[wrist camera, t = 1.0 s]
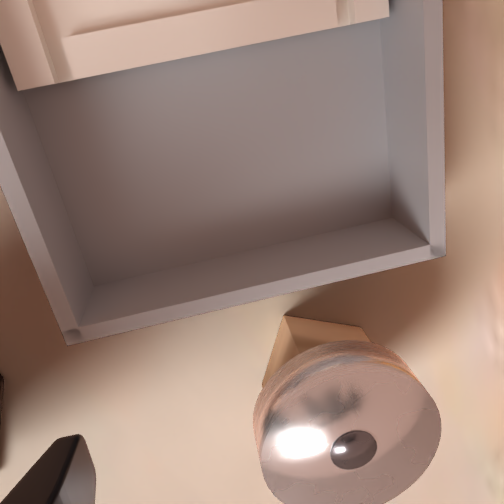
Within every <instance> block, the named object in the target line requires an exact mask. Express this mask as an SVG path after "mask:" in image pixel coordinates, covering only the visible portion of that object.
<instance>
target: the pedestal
mask: <svg viewBox="0 0 504 504" xmlns="http://www.w3.org/2000/svg"><path fill="white" fill-rule="evenodd" d="M342 340H358V341H366V342H370V340H369V339H368V337H367V336H366V334H365V333H364V331H363V330H362V329H361V327H356V326H349V325H343V324H336V323H330V322H324V321H317V320H311V319H304V318H298V317H291V316H285V315H283V319H282V322H281V325H280V328H279V331H278V335H277V338H276V341H275V344H274V347H273V351H272V354H271V357H270V360H269V363H268V367H267V370H266V373H265V376H264V379H263V382H262V387H264V385H265V384H266V383H267V381H268V380H269V379H270V377H271V376H272V375H273V374H274V373H275V372H276V371H277V370H278V369H279V368H280V367H281V366H283V365H284V364H285V363H286V362H287V361H289V360H290V359H292V358H293V357H295V356H296V355H298V354H300V353H302V352H304V351H306V350H308V349H311V348H313V347H316V346H318V345H322V344H326V343H329V342H335V341H342Z"/></svg>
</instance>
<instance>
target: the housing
mask: <svg viewBox="0 0 504 504" xmlns="http://www.w3.org/2000/svg"><path fill="white" fill-rule="evenodd" d="M0 186H1V189H2V191H3V193H4V196H5V198H6V201H7V203H8V205H9V208H10V210H11V213H12V215H13V217H14V220H15V222H16V225H17V227H18V229H19V232H20V234H21V237H22V239H23V241H24V244H25V246H26V249H27V251H28V253H29V256H30V258H31V261H32V263H33V265H34V268H35V270H36V273H37V275H38V277H39V280H40V282H41V285H42V287H43V289H44V292H45V294H46V297H47V299H48V301H49V304H50V306H51V309H52V311H53V313H54V316H55V318H56V321H57V323H58V325H59V328H60V330H61V333H62V335H63V337H64V340H65V342H66V345H67V346H69V345H74V344H78V343H82V342H86V341H90V340H95V339H99V338H103V337H107V336H111V335H116V334H120V333H124V332H128V331H132V330H137V329H141V328H145V327H149V326H153V325H158V324H162V323H166V322H170V321H174V320H179V319H183V318H187V317H191V316H195V315H200V314H204V313H208V312H212V311H216V310H221V309H225V308H229V307H233V306H237V305H242V304H246V303H250V302H254V301H258V300H263V299H267V298H271V297H275V296H279V295H284V294H288V293H292V292H296V291H300V290H305V289H309V288H313V287H317V286H321V285H326V284H330V283H334V282H338V281H342V280H347V279H351V278H355V277H359V276H363V275H368V274H372V273H376V272H380V271H385V270H389V269H393V268H397V267H401V266H406V265H410V264H414V263H418V262H422V261H427V260H431V259H435V258H439V257H443V256H446V224H445V148H444V72H443V0H389V17H386V18H381V19H376V20H372V21H367V22H362V23H357V24H352V25H347V26H342V27H337V28H332V29H327V30H322V31H317V32H312V33H307V34H302V35H297V36H292V37H287V38H282V39H277V40H272V41H267V42H262V43H256V44H251V45H246V46H241V47H236V48H231V49H226V50H221V51H216V52H211V53H206V54H201V55H196V56H191V57H186V58H181V59H176V60H171V61H166V62H161V63H156V64H151V65H146V66H141V67H136V68H131V69H126V70H121V71H116V72H111V73H106V74H101V75H96V76H91V77H86V78H81V79H76V80H71V81H66V82H61V83H56V84H51V85H46V86H41V87H36V88H31V89H26V90H20V91H18V90H17V87H16V85H15V82H14V79H13V77H12V74H11V71H10V69H9V66H8V63H7V60H6V58H5V55H4V52H3V50H2V47H1V44H0Z"/></svg>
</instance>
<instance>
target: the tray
mask: <svg viewBox="0 0 504 504" xmlns="http://www.w3.org/2000/svg"><path fill="white" fill-rule="evenodd" d="M386 17H389V0H0V44H1V47H2V50H3V52H4V55H5V58H6V60H7V63H8V66H9V69H10V71H11V74H12V77H13V79H14V82H15V85H16V87H17V90H18V91H20V90H26V89H31V88H36V87H41V86H46V85H51V84H56V83H61V82H66V81H71V80H76V79H81V78H86V77H91V76H96V75H101V74H106V73H111V72H116V71H121V70H126V69H131V68H136V67H141V66H146V65H151V64H156V63H161V62H166V61H171V60H176V59H181V58H186V57H191V56H196V55H201V54H206V53H211V52H216V51H221V50H226V49H231V48H236V47H241V46H246V45H251V44H256V43H262V42H267V41H272V40H277V39H282V38H287V37H292V36H297V35H302V34H307V33H312V32H317V31H322V30H327V29H332V28H337V27H342V26H347V25H352V24H357V23H362V22H367V21H372V20H376V19H381V18H386Z"/></svg>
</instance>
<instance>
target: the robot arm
mask: <svg viewBox="0 0 504 504" xmlns="http://www.w3.org/2000/svg"><path fill="white" fill-rule="evenodd" d="M3 387H4V378H3V376H2V375H1V374H0V423H1V411H2V399H3ZM95 491H96V473H95V468H94V464H93V462H92V459H91V456H90V453H89V450H88V447H87V444H86V442H85V439H84V438H83V436H82V435H79V434H76V435H71V436H66V437H62V438H59V439H57V440H56V441H55V442H54V443H53V444H52V445H51V446H50V447H49V448H48V449H47V451H46V452H45V453H44V454H43V455H42V456H41V457H40V459H39V460H38V461H37V462H36V463H35V464H34V465H33V466H32V468H31V469H30V470H29V471H28V472H27V473H26V474H25V476H24V477H23V478H22V479H21V480H20V481H19V482H18V484H17V485H16V486H15V487H14V488H13V489H12V490H11V491H10V493H9V494H8V495H7V496H6V497H5V498H4V499H3V501H2V502H1V503H0V504H95Z"/></svg>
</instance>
